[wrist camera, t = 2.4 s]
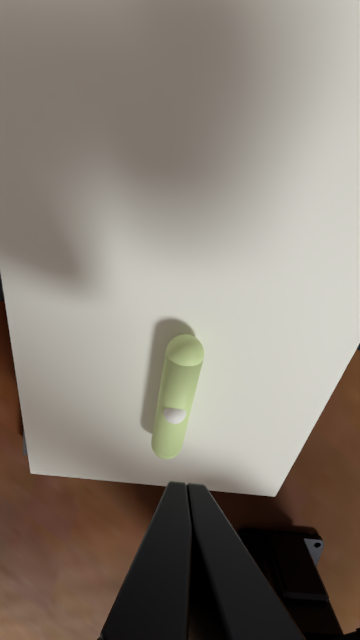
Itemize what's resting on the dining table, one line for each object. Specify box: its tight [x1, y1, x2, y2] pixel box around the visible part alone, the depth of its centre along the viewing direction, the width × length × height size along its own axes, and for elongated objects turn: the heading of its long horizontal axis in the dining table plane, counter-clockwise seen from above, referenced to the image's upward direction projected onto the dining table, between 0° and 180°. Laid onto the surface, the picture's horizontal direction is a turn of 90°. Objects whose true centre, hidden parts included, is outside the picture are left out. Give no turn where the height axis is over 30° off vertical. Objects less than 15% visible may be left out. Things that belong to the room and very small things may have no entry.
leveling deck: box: [0, 0, 360, 497], centre depth 11 cm, size 22×13×3 cm, turn 172°
